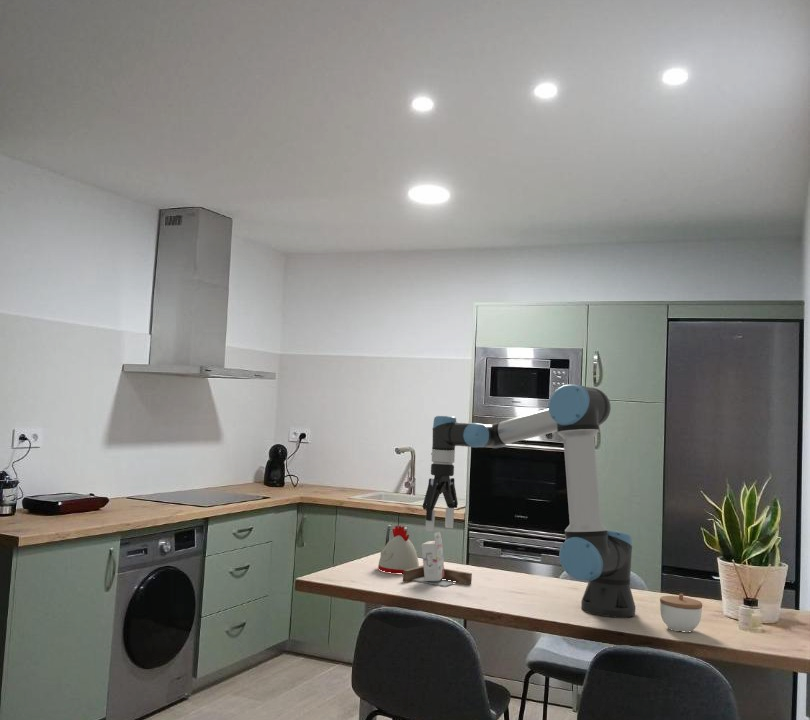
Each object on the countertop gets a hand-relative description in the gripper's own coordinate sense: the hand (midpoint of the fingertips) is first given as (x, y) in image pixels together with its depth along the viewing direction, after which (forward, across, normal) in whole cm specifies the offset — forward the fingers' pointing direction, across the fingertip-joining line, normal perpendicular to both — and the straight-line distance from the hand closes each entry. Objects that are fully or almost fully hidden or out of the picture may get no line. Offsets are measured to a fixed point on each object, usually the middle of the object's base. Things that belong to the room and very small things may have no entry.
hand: (439, 529), depth 246 cm
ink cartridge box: (+16, 0, -1) cm, 16 cm away
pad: (+17, 0, -1) cm, 17 cm away
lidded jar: (+18, +3, +75) cm, 77 cm away
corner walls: (+17, +1, +1) cm, 17 cm away
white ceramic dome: (+17, -7, -19) cm, 26 cm away
